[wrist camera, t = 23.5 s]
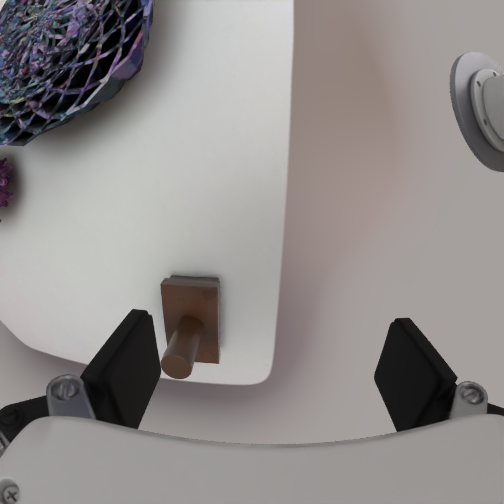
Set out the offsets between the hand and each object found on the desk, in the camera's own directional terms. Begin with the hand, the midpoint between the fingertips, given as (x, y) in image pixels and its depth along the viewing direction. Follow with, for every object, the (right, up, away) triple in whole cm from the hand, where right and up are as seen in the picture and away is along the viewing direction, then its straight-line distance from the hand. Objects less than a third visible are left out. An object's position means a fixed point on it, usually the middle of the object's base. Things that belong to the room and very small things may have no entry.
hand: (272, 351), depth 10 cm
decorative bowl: (-21, +29, +11) cm, 37 cm away
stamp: (-7, -3, +20) cm, 21 cm away
